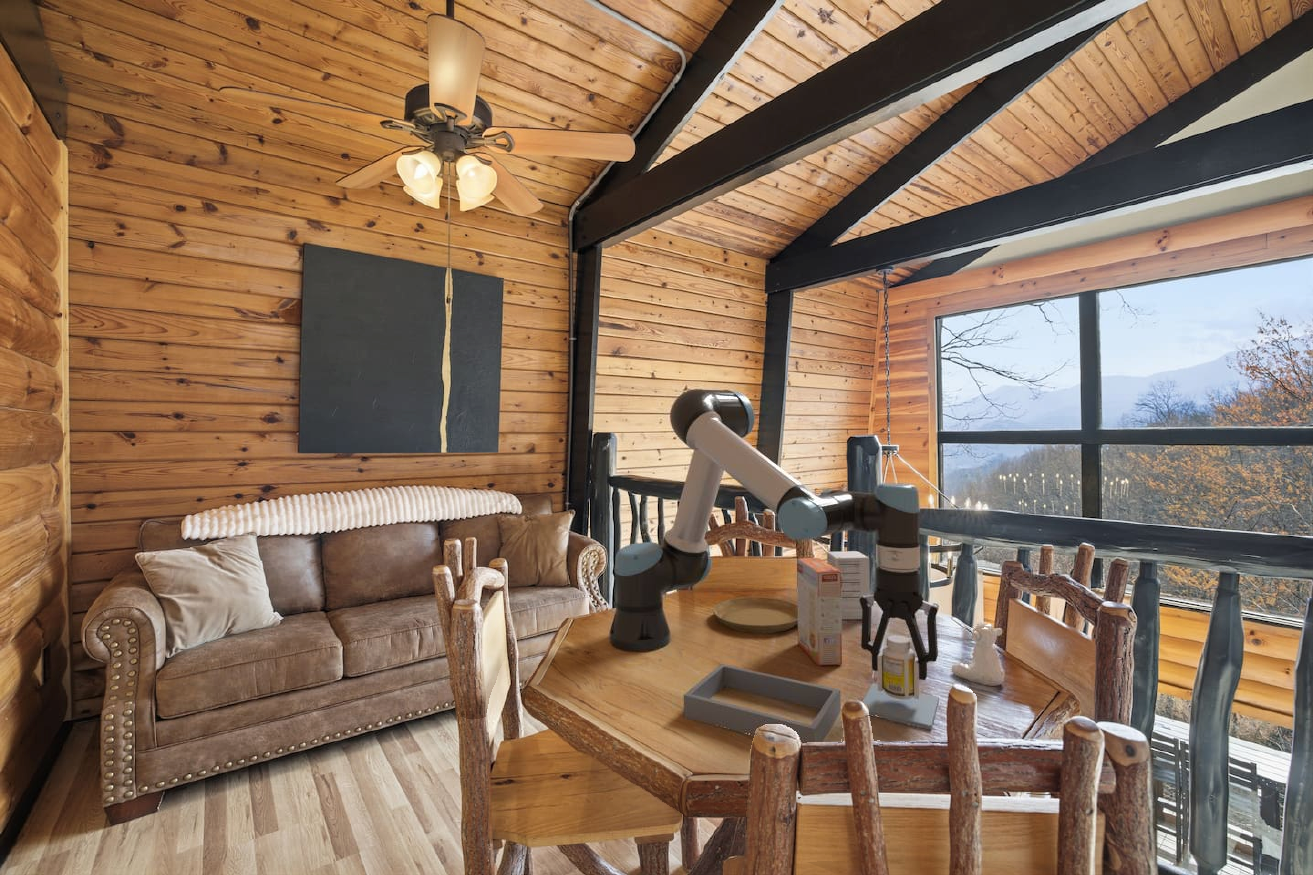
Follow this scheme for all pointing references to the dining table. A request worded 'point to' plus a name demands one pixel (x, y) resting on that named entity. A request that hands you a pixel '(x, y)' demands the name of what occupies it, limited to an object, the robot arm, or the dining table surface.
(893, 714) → the mat
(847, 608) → the supplement box
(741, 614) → the plant saucer
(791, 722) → the bin
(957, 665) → the white creature statuette
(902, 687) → the supplement bottle
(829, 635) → the cracker box
